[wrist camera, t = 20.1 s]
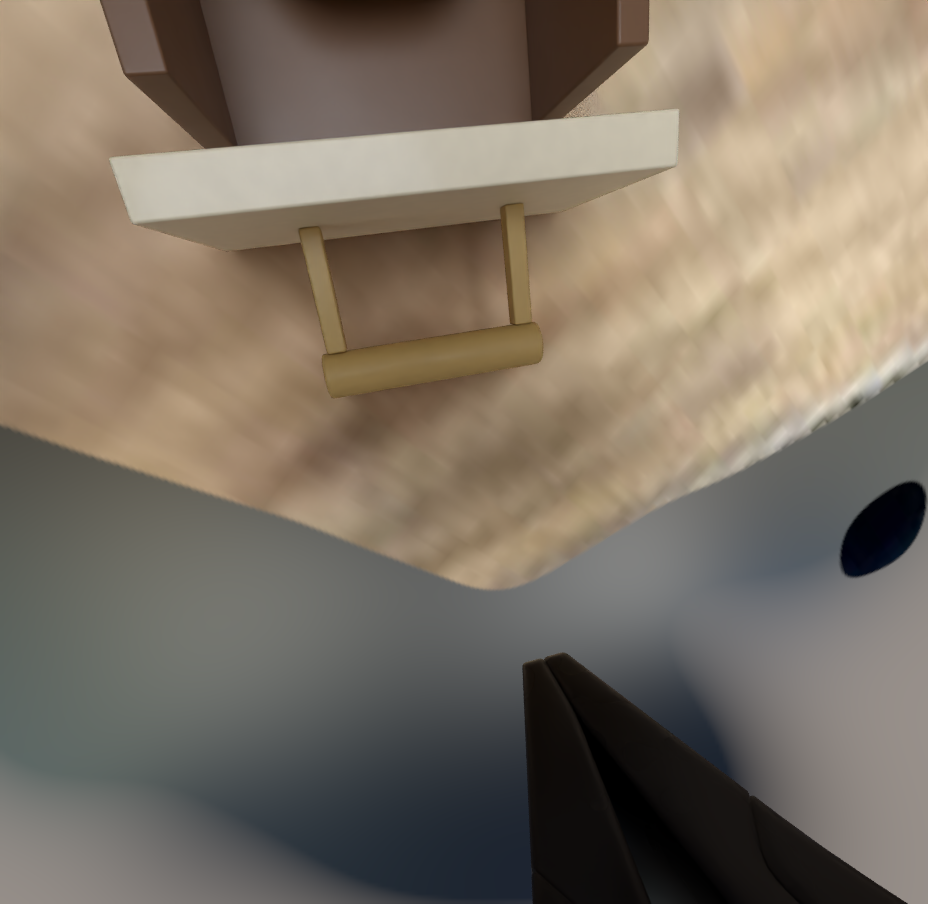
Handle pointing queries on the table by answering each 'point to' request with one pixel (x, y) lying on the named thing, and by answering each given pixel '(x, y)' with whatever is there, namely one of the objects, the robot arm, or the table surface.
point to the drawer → (384, 138)
